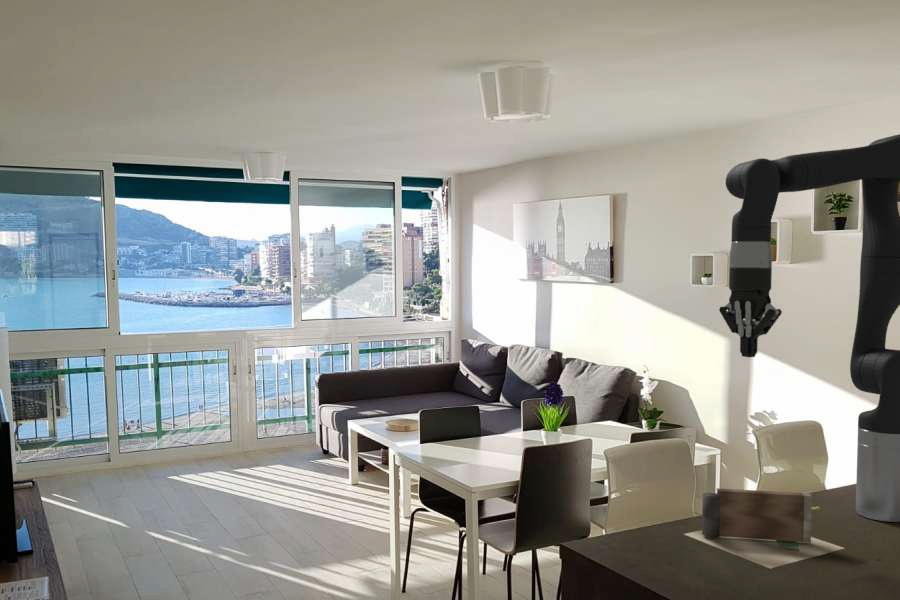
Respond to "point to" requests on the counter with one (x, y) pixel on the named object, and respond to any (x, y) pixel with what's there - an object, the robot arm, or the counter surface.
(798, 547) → the beige flat square sheet
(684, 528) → the counter surface
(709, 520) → the brown wood panel
